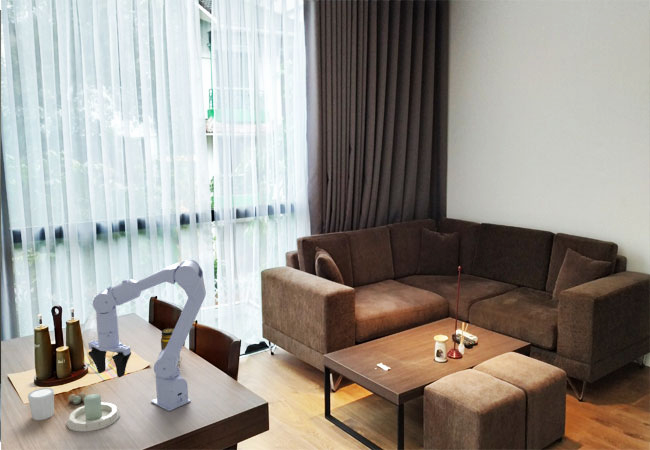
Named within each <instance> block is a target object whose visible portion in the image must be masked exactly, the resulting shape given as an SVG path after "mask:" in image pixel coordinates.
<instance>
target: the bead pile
mask: <svg viewBox="0 0 650 450" xmlns="http://www.w3.org/2000/svg"><path fill="white" fill-rule="evenodd" d="M88 395H89V394H86V393H85V392H79V393H78V394H77V395H76V394H75V393H71V394H69V396H68V398H67V400H68V402H70V403H73V404H74V405H79V404H81V401H82V402H83V403H84V398H85V397H86V396H88Z"/></svg>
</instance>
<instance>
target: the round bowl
mask: <svg viewBox="0 0 650 450" xmlns="http://www.w3.org/2000/svg"><path fill="white" fill-rule="evenodd" d="M101 407H102V417H101V418H100V419H98V420H94V421H87V420H86V417H85V406H84V405H82V406H81V407H80V406H79V407H77V408H76V409H74V410H73V411H72V412H71V413H69V418H68V419H67V420H66V425H67V427H68V429H69V430H71V431H74V432H79V433H80V432H81V433H87V432H89V433H90V432H94V431H98V430H102V429H105V428H108V427H109V426H112V425H113V424H114V423H116V422H118V421H119V419H120V415H121V414H120V413H121V412H120V410H119V408H117V405H115V404H113V403H111V402H103V401H101Z"/></svg>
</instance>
